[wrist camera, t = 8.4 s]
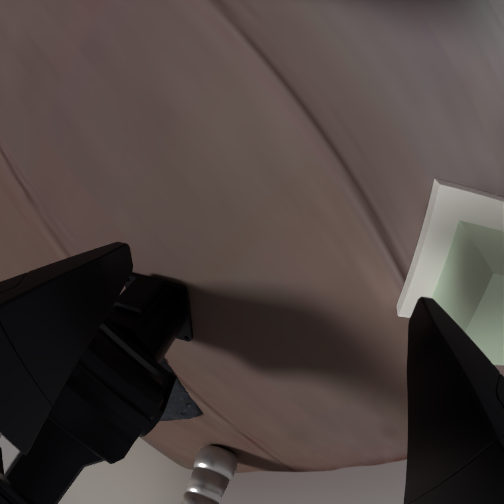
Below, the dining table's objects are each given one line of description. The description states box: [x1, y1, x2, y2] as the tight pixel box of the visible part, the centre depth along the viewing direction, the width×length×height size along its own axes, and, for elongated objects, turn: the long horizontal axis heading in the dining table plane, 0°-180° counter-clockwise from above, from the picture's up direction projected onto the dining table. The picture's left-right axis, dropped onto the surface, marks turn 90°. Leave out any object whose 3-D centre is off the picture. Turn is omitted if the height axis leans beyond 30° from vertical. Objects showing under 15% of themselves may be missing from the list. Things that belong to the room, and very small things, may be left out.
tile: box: [397, 178, 504, 318], centre depth 18 cm, size 10×10×1 cm
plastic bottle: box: [179, 445, 238, 504], centre depth 35 cm, size 6×7×20 cm
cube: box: [431, 220, 504, 365], centre depth 15 cm, size 6×6×6 cm
